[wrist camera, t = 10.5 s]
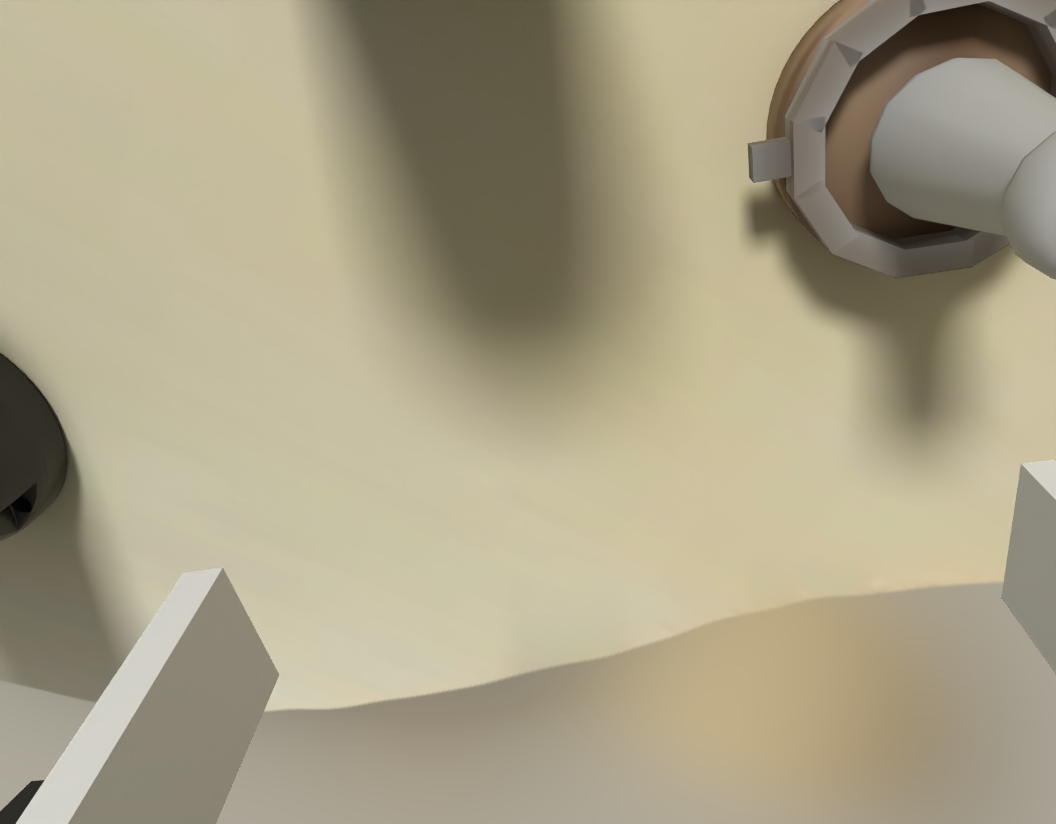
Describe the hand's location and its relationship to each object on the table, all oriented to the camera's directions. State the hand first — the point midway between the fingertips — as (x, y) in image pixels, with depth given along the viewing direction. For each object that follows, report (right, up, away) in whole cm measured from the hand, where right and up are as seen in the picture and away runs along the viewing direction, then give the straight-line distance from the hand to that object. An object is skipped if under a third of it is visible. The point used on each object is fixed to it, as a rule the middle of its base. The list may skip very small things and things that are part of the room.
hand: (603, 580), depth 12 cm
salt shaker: (+15, +14, +17) cm, 27 cm away
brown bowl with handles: (+15, +16, +20) cm, 30 cm away
